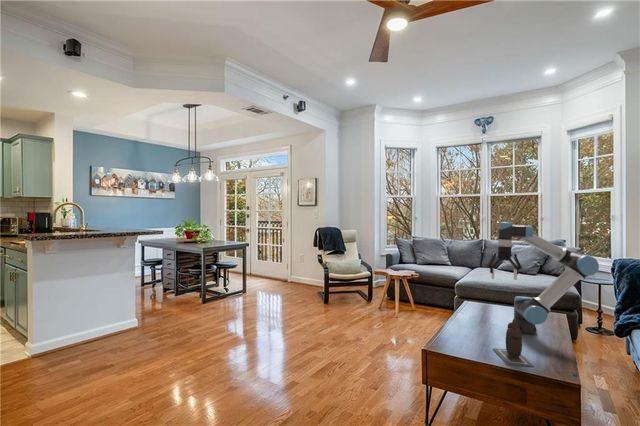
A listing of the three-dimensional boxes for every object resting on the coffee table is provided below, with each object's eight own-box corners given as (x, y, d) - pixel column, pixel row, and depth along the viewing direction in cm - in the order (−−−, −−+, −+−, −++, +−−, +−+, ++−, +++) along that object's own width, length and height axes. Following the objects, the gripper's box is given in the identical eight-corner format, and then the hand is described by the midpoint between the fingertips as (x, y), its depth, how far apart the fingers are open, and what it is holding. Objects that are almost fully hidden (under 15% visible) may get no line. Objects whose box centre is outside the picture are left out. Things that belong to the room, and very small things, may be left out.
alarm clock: (504, 350, 191) (505, 315, 191) (518, 352, 188) (519, 317, 188) (506, 360, 178) (507, 322, 178) (522, 363, 175) (523, 325, 175)
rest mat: (516, 351, 192) (516, 349, 192) (533, 367, 173) (533, 365, 173) (492, 349, 194) (492, 348, 194) (507, 365, 174) (507, 363, 174)
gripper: (522, 246, 218) (521, 278, 218) (482, 244, 221) (481, 276, 221) (528, 247, 210) (527, 281, 210) (486, 245, 213) (485, 279, 214)
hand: (503, 279), depth 216 cm, fingers open, 13 cm apart
